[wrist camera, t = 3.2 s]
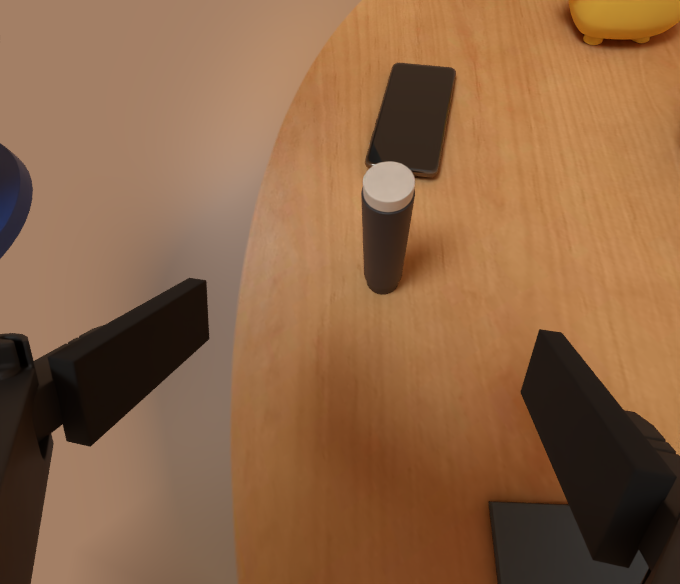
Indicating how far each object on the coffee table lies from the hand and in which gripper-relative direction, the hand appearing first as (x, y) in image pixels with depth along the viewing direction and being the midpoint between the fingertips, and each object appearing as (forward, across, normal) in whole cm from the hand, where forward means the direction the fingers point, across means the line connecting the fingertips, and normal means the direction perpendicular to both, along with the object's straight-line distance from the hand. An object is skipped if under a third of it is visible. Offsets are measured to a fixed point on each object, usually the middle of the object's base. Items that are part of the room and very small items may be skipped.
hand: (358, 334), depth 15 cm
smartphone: (+32, 0, +10) cm, 34 cm away
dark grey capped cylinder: (+19, 0, -4) cm, 19 cm away
